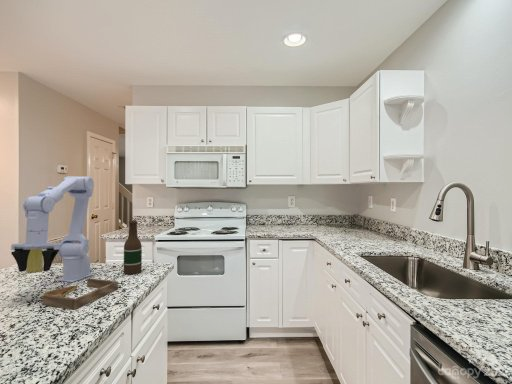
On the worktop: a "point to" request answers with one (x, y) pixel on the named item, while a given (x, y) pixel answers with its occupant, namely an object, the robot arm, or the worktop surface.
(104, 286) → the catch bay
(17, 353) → the worktop surface
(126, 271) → the beer bottle
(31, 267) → the olive green rod
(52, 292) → the shard
